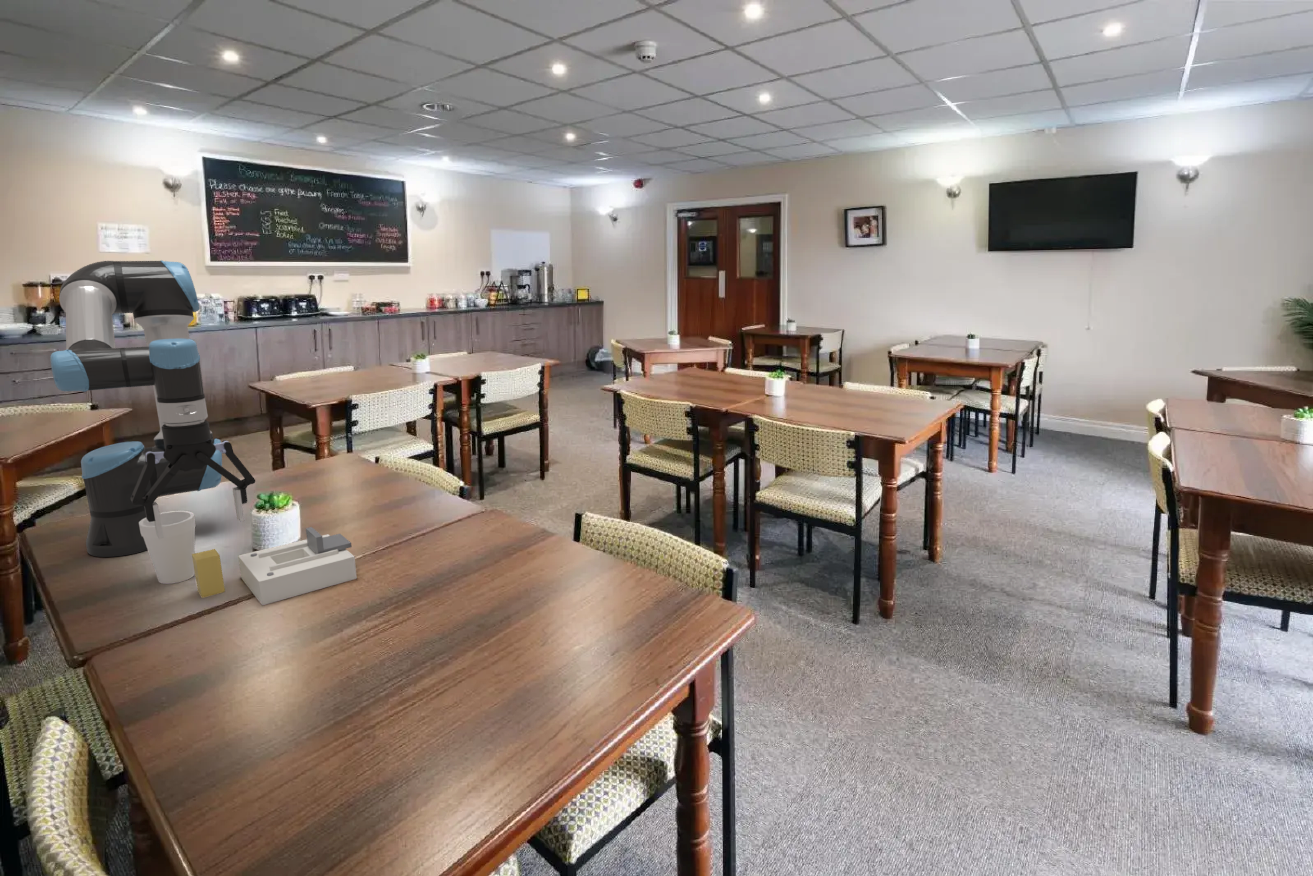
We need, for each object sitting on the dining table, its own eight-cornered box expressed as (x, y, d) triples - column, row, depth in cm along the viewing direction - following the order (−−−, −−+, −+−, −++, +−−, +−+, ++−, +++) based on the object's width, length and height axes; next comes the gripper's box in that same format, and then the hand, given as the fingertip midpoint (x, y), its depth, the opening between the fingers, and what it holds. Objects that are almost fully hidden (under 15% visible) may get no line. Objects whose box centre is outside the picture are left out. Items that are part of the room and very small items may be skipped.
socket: (241, 577, 148) (237, 552, 147) (330, 554, 160) (327, 530, 158) (262, 605, 137) (258, 577, 135) (356, 578, 148) (354, 553, 147)
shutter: (307, 545, 151) (305, 528, 150) (340, 537, 156) (338, 520, 155) (318, 555, 147) (316, 537, 146) (351, 547, 151) (349, 529, 150)
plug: (197, 591, 142) (191, 554, 140) (220, 585, 145) (214, 548, 143) (202, 598, 139) (196, 560, 137) (225, 591, 142) (219, 555, 140)
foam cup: (176, 589, 142) (166, 529, 139) (137, 584, 144) (126, 525, 141) (213, 569, 152) (204, 512, 148) (176, 565, 153) (167, 509, 150)
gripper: (104, 435, 122) (125, 549, 127) (263, 416, 139) (276, 517, 144) (99, 428, 128) (120, 538, 133) (253, 410, 144) (266, 508, 149)
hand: (201, 527), depth 138 cm, fingers open, 13 cm apart
